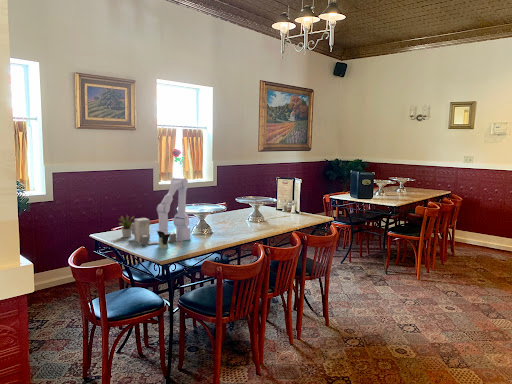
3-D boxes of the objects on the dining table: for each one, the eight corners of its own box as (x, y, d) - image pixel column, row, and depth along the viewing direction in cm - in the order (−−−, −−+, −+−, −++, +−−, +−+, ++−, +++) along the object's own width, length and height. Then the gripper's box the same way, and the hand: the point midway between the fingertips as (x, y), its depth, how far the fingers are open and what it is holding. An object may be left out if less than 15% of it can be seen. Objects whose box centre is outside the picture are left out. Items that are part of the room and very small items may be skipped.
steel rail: (175, 240, 268) (175, 239, 268) (177, 242, 264) (177, 240, 264) (140, 244, 256) (140, 243, 256) (141, 245, 253) (141, 244, 253)
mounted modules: (173, 239, 268) (173, 232, 267) (176, 241, 263) (176, 233, 263) (141, 242, 257) (141, 235, 256) (143, 244, 253) (142, 236, 252)
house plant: (112, 239, 267) (112, 216, 265) (116, 235, 281) (115, 212, 279) (134, 239, 270) (133, 216, 268) (136, 234, 284) (136, 212, 282)
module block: (166, 246, 254) (166, 237, 253) (168, 247, 250) (168, 238, 249) (158, 246, 251) (158, 237, 251) (160, 248, 247) (160, 239, 247)
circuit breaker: (141, 236, 277) (140, 216, 275) (150, 240, 266) (149, 219, 264) (130, 238, 272) (130, 217, 270) (139, 242, 261) (139, 220, 259)
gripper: (154, 221, 253) (154, 241, 255) (160, 225, 240) (160, 246, 242) (164, 220, 256) (164, 240, 258) (171, 224, 244) (171, 245, 245)
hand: (163, 243), depth 250 cm, fingers open, 7 cm apart
